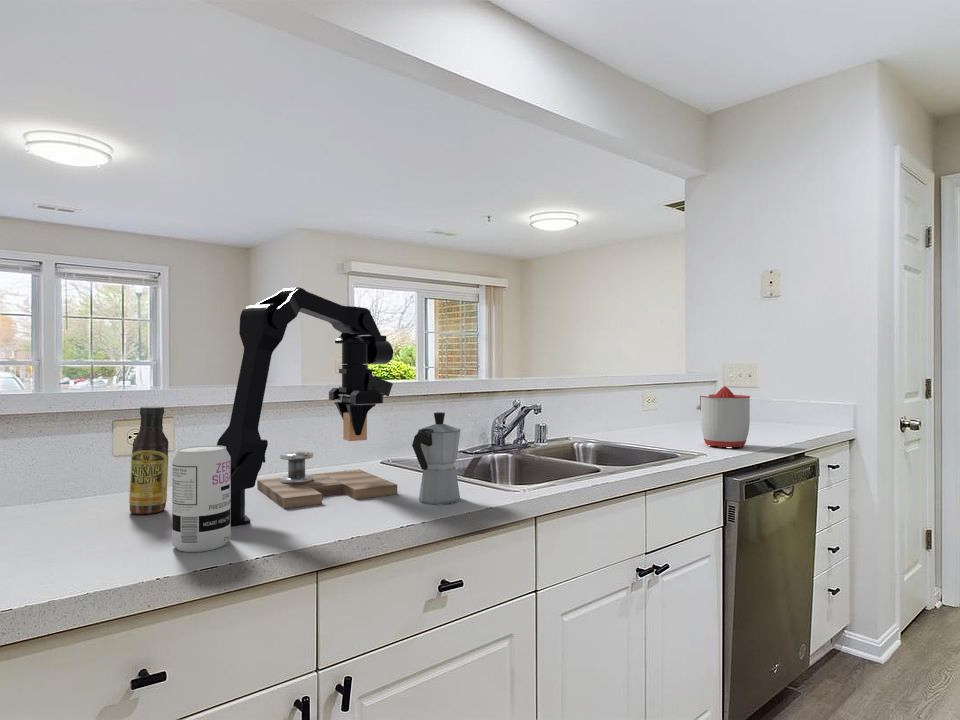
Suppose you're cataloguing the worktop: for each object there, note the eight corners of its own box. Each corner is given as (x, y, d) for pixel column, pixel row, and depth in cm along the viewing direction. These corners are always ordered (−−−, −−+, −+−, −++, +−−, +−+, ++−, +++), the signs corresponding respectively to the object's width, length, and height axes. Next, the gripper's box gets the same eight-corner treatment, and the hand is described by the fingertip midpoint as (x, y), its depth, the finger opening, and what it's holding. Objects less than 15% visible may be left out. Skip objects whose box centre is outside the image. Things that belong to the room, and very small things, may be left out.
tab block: (366, 440, 136) (366, 413, 136) (349, 441, 134) (349, 413, 134) (360, 438, 139) (360, 411, 139) (343, 439, 137) (343, 412, 137)
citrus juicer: (710, 441, 215) (710, 384, 215) (759, 447, 202) (759, 386, 202) (685, 445, 205) (685, 386, 205) (735, 451, 192) (735, 387, 192)
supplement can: (175, 540, 97) (175, 446, 97) (231, 535, 100) (231, 443, 100) (168, 556, 90) (169, 453, 90) (229, 550, 92) (229, 450, 92)
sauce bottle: (124, 516, 112) (125, 408, 112) (134, 508, 118) (134, 405, 118) (164, 514, 113) (164, 407, 113) (171, 506, 119) (171, 405, 119)
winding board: (397, 493, 131) (397, 484, 131) (283, 508, 118) (283, 498, 118) (359, 477, 149) (359, 469, 149) (257, 488, 136) (257, 479, 136)
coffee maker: (439, 491, 133) (439, 409, 133) (473, 496, 129) (473, 410, 129) (396, 505, 120) (396, 414, 120) (432, 511, 116) (432, 416, 116)
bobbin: (317, 481, 134) (317, 454, 134) (285, 485, 130) (285, 457, 130) (307, 476, 140) (307, 450, 140) (276, 480, 136) (276, 453, 136)
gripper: (405, 364, 133) (405, 436, 133) (372, 364, 149) (372, 428, 149) (356, 364, 127) (356, 439, 127) (328, 364, 143) (327, 430, 143)
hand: (354, 434), depth 137 cm, fingers closed on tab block, 4 cm apart
